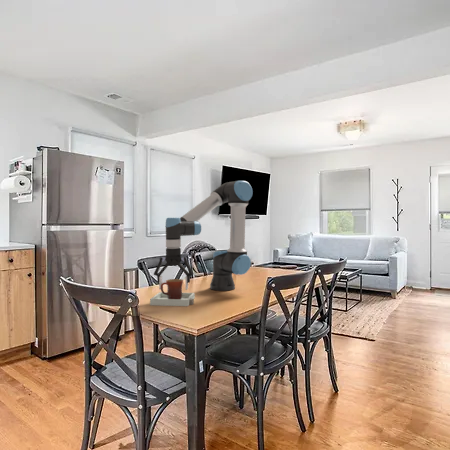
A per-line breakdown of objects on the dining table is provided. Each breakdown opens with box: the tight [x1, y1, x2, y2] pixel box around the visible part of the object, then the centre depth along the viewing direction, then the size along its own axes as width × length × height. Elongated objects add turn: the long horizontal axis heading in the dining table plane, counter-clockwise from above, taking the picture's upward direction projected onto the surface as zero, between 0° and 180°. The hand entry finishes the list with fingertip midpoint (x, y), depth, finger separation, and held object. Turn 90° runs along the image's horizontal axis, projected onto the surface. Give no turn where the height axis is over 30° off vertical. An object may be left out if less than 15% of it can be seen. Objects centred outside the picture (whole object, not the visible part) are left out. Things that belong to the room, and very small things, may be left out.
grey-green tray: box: [149, 291, 195, 307], centre depth 182 cm, size 21×17×3 cm
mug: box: [160, 278, 184, 299], centre depth 182 cm, size 12×9×10 cm
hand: (173, 289), depth 182 cm, fingers open, 13 cm apart
